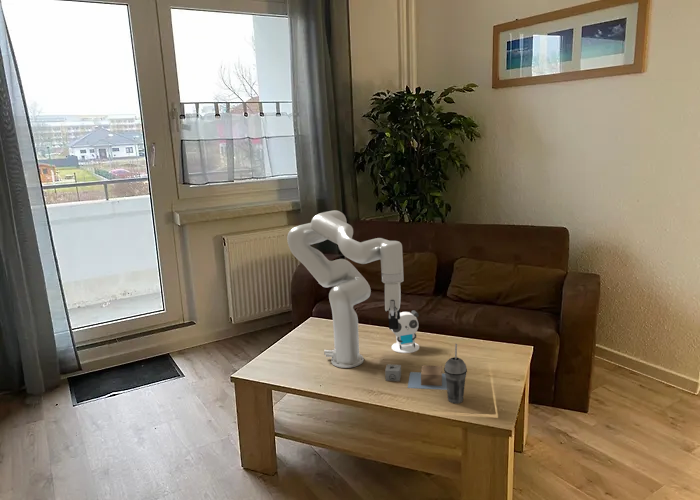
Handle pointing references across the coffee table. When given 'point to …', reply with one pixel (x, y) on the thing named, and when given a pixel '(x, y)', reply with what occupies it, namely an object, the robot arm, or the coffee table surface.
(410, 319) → the panda figurine
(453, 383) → the beverage cup
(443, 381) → the blue board
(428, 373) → the light brown plinth
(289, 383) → the coffee table surface
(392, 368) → the grey symbol cube
